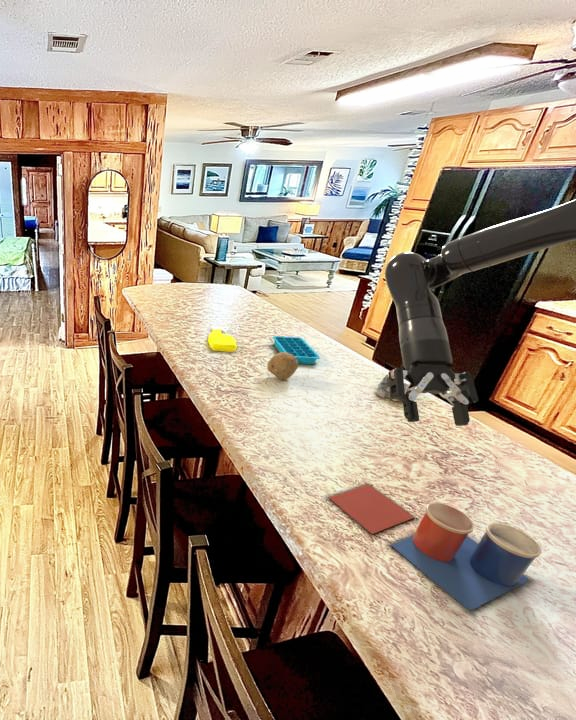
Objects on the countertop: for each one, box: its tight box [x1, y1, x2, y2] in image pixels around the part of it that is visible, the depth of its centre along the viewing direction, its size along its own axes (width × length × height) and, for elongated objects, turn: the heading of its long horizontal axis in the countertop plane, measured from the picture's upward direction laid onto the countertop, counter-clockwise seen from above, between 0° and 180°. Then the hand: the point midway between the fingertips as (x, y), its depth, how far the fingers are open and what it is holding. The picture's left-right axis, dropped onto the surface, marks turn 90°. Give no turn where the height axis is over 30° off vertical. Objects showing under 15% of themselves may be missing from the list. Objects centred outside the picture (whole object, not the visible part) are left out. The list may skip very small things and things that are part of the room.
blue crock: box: [469, 522, 543, 586], centre depth 67 cm, size 7×7×8 cm
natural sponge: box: [267, 352, 299, 381], centre depth 131 cm, size 9×9×10 cm
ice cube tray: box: [272, 335, 321, 365], centre depth 151 cm, size 12×20×3 cm, turn 173°
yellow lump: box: [207, 326, 238, 353], centre depth 163 cm, size 3×11×24 cm
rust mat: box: [328, 483, 415, 535], centre depth 81 cm, size 12×10×1 cm
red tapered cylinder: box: [412, 502, 475, 562], centre depth 71 cm, size 7×7×8 cm
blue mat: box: [390, 535, 530, 612], centre depth 70 cm, size 16×13×1 cm
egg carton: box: [376, 374, 410, 403], centre depth 123 cm, size 11×8×4 cm
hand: (437, 423), depth 73 cm, fingers open, 8 cm apart
